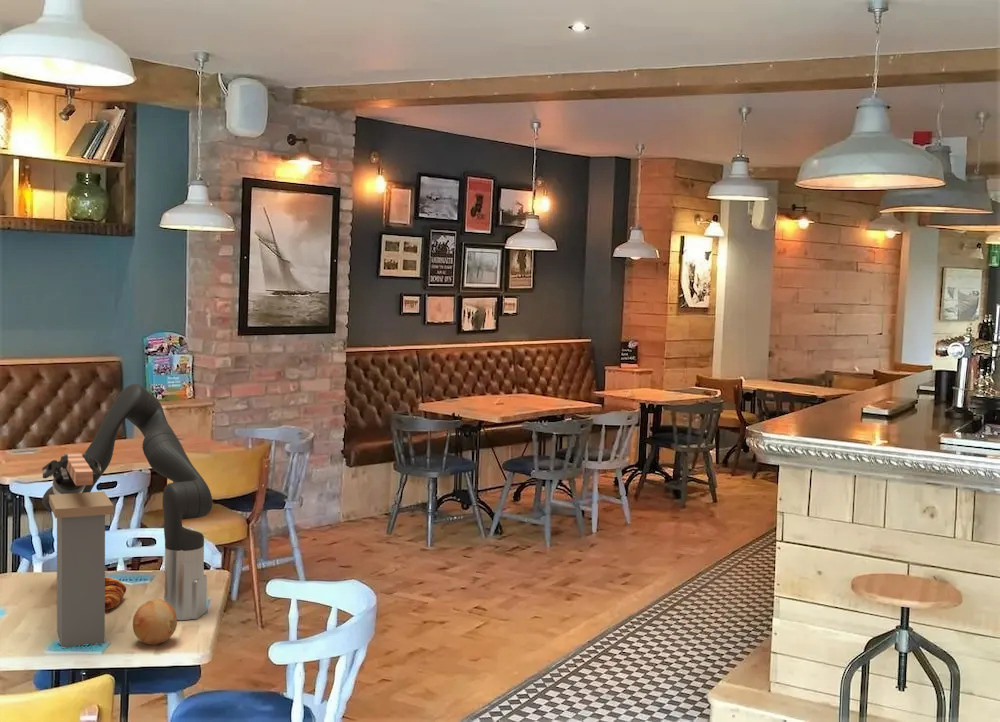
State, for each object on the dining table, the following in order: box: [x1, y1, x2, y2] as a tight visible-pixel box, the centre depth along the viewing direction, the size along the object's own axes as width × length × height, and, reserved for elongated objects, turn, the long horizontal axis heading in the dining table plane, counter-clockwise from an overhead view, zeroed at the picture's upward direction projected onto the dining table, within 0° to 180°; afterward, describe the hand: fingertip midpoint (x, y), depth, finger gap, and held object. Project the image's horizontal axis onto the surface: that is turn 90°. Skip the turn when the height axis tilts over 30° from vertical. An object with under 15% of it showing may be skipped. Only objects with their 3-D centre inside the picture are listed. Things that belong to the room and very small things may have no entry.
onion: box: [132, 598, 178, 646], centre depth 237 cm, size 10×10×10 cm
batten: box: [64, 451, 93, 486], centre depth 241 cm, size 26×4×3 cm, turn 28°
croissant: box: [105, 576, 127, 611], centre depth 266 cm, size 21×10×8 cm, turn 27°
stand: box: [49, 491, 114, 648], centre depth 239 cm, size 16×12×32 cm
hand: (75, 457), depth 246 cm, fingers closed on batten, 3 cm apart
